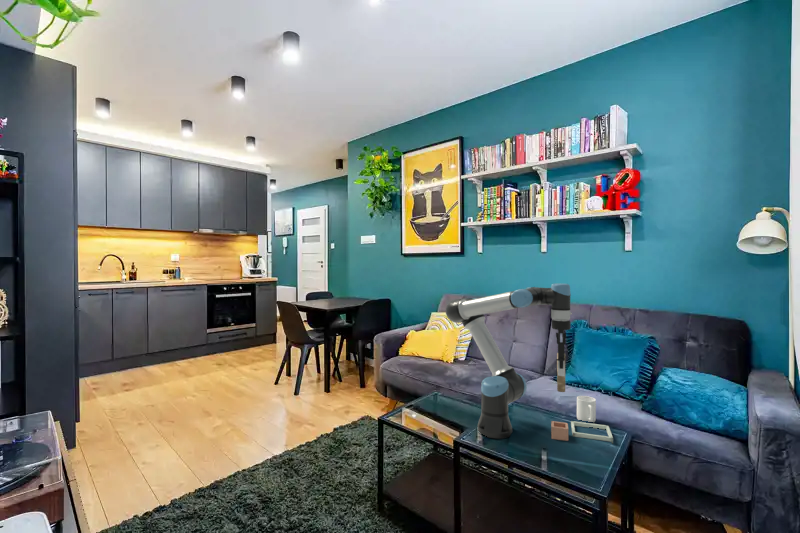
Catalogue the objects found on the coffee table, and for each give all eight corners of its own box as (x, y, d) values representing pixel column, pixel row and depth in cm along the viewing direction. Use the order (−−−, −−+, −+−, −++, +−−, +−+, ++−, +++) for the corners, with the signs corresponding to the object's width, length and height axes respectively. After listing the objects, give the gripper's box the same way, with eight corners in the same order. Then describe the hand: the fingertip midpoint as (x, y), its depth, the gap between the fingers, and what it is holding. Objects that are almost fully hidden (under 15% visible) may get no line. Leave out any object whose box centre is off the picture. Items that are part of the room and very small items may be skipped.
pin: (557, 391, 169) (557, 354, 169) (557, 389, 172) (557, 352, 172) (565, 392, 168) (565, 354, 168) (565, 390, 171) (565, 353, 171)
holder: (551, 440, 169) (551, 426, 168) (551, 434, 175) (551, 420, 175) (568, 443, 166) (568, 429, 166) (567, 436, 172) (567, 423, 172)
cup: (592, 416, 195) (592, 396, 195) (601, 426, 183) (601, 404, 183) (574, 416, 196) (574, 395, 196) (582, 425, 184) (582, 404, 184)
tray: (572, 438, 171) (572, 432, 171) (571, 426, 183) (571, 421, 183) (613, 444, 165) (613, 438, 165) (608, 431, 178) (608, 425, 178)
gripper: (571, 322, 161) (571, 380, 161) (569, 317, 176) (570, 370, 176) (551, 321, 164) (551, 378, 164) (551, 316, 179) (551, 369, 179)
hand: (561, 374), depth 170 cm, fingers closed on pin, 3 cm apart
